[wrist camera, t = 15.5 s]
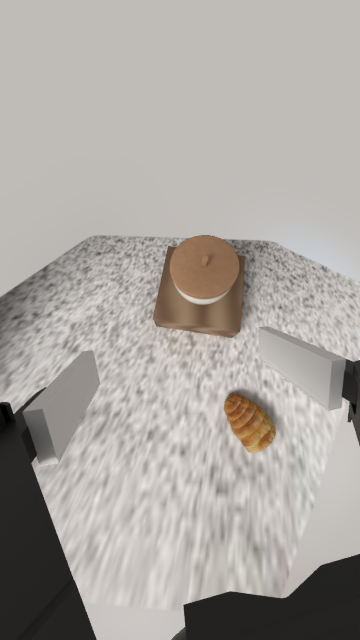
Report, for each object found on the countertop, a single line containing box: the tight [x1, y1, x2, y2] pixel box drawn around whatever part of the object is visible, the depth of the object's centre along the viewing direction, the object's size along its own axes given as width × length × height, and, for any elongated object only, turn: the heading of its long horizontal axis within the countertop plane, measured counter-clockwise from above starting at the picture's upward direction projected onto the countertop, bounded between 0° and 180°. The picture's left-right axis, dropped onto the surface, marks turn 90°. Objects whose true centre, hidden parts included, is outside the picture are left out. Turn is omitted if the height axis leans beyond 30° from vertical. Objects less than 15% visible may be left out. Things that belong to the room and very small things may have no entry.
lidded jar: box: [170, 235, 239, 305], centre depth 32 cm, size 11×11×9 cm
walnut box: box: [153, 246, 245, 338], centre depth 40 cm, size 16×16×6 cm
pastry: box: [224, 394, 276, 453], centre depth 33 cm, size 9×7×4 cm
